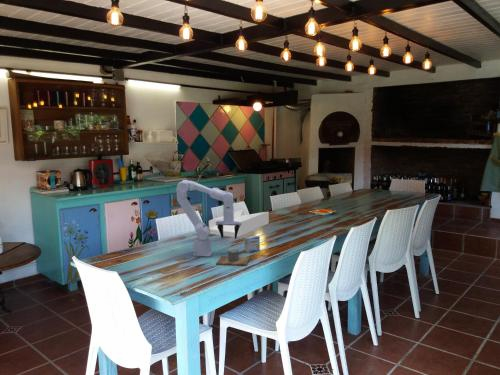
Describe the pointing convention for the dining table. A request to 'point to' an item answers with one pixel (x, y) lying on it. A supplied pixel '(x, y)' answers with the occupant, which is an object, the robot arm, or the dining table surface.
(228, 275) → the dining table surface
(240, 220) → the white long open box
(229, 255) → the cap
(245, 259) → the post board
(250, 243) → the medicine box
